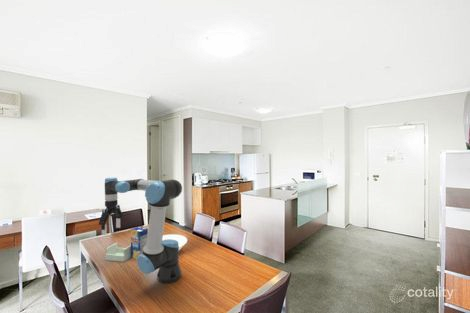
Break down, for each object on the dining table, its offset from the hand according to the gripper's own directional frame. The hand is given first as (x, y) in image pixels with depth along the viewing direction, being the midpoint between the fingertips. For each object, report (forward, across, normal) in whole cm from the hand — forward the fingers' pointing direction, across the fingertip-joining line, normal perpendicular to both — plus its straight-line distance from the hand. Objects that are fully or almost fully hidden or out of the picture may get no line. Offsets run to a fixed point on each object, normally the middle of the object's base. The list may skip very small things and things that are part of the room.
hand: (111, 230), depth 146 cm
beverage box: (+27, -19, +8) cm, 34 cm away
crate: (+27, -18, -6) cm, 33 cm away
